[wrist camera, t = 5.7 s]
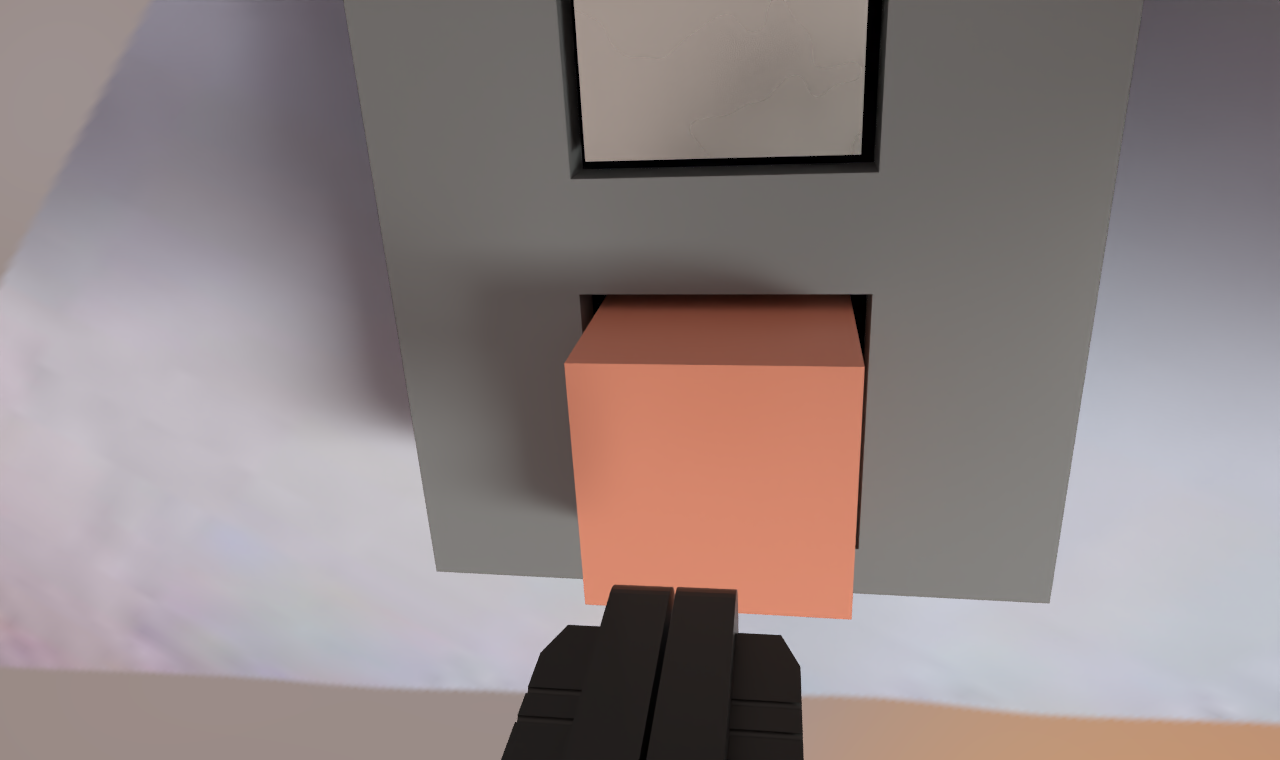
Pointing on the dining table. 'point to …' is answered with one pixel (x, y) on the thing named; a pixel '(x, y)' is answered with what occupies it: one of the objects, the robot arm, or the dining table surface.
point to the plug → (720, 78)
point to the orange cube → (720, 447)
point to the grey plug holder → (758, 269)
